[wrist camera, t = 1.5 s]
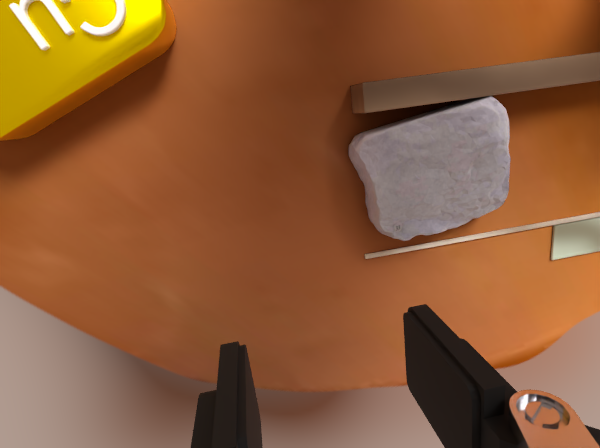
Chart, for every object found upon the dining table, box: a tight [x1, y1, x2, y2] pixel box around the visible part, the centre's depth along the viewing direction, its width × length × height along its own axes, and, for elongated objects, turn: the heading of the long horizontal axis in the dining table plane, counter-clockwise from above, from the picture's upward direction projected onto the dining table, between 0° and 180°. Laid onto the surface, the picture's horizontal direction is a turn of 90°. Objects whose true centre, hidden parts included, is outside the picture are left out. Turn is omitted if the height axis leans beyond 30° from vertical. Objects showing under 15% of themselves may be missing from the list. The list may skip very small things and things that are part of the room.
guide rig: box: [350, 52, 600, 260], centre depth 31 cm, size 18×30×3 cm, turn 98°
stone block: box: [348, 96, 511, 241], centre depth 30 cm, size 12×5×10 cm
